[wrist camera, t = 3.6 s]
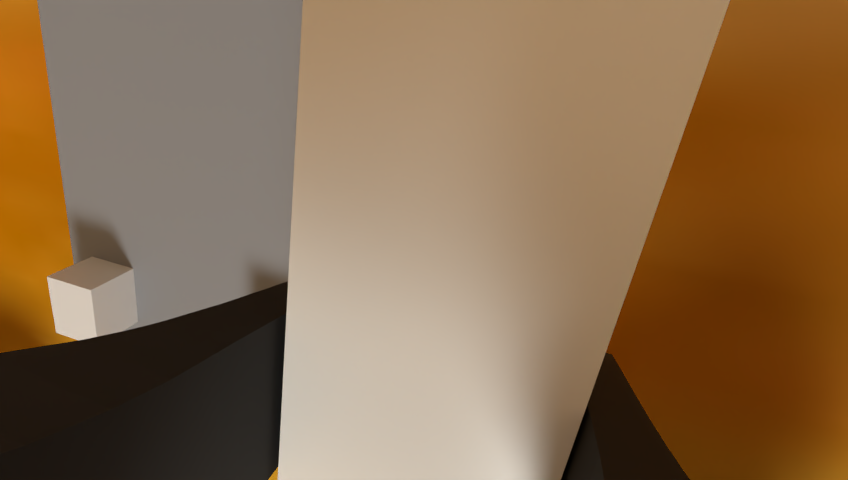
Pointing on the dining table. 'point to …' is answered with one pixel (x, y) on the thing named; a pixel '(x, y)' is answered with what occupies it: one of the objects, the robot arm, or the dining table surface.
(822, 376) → the dining table surface
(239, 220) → the collar stand
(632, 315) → the dining table surface
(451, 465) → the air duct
